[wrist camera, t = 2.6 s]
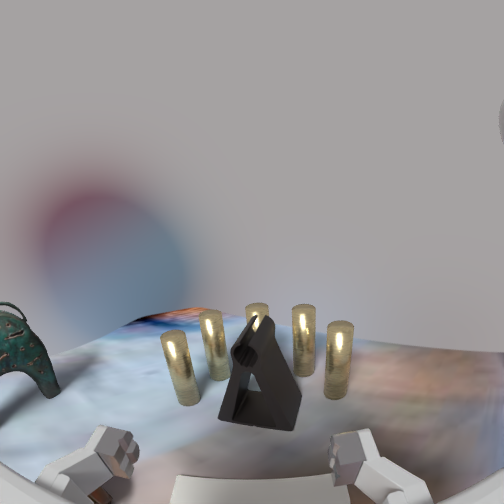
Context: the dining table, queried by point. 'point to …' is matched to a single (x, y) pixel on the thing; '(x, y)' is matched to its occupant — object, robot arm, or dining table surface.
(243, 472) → the dining table surface
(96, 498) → the bolt
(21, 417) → the dining table surface
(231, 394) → the phone stand
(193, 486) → the mat
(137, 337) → the dining table surface
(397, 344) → the dining table surface
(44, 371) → the green animal figurine
